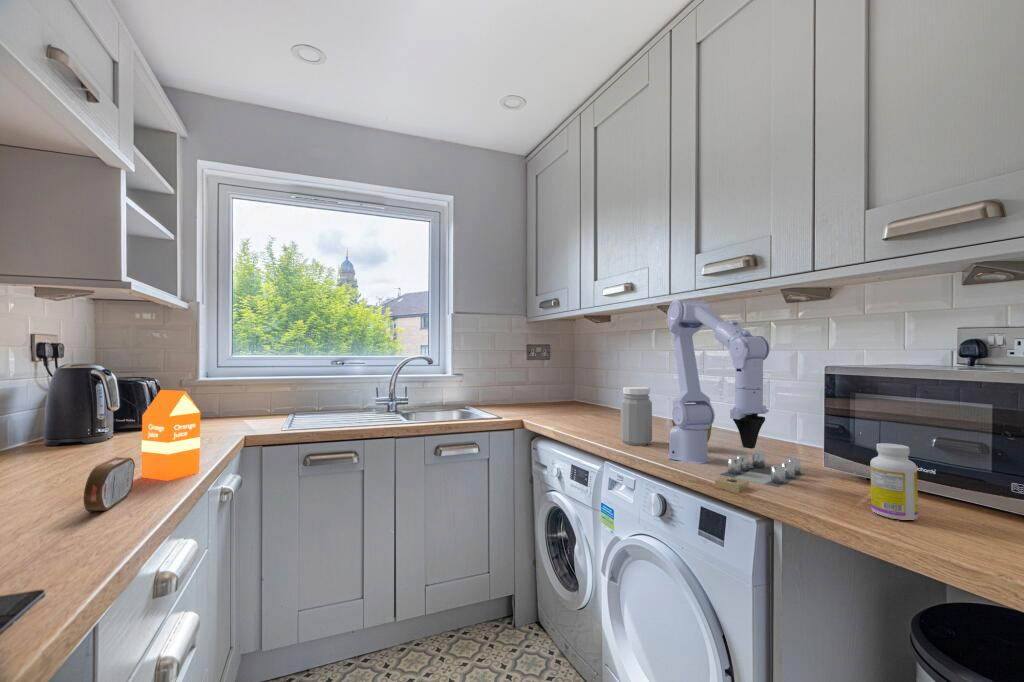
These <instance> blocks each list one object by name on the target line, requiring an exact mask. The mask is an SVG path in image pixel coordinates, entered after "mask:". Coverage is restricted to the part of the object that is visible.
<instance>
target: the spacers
mask: <svg viewBox="0 0 1024 682" xmlns="http://www.w3.org/2000/svg"><path fill="white" fill-rule="evenodd" d="M751 458H752V463H749V456H748V455H744V454H736V455H735V457H734V456H733V457H732V456H731V457H727V472H728V473H729V474H733V475H740V474H741V471H742V472H747V471H748V469H754V467H755V468H765V466H766V453H764V452H761V451H760V452H759V451H758V452H757V451H752V457H751ZM751 464H753V465H751ZM770 467H771V482H772V483H776V484H784V485H785V479H794V480H796V479H795V475H800V474H801V473H802V471H801V459H800V458H797V457H786V460H785V461H783V460H782V461H780V465H779V464H778V465H776V464H775V465H774V464H772V465H771V466H770Z"/></svg>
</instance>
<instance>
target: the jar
mask: <svg viewBox="0 0 1024 682" xmlns="http://www.w3.org/2000/svg"><path fill="white" fill-rule="evenodd" d="M650 389H651V388H650V387H647V386H624V387H622V393H623V394H624V395H622V398H623V399H622V400H621V401H620V440H621V441H622V443H624V444H625V445H628V444H630V445H629V446H636V445H644V446H648V445H650V444H651V442H652V441H653V406H652V405H653V402H652V401H651V399H650V397H651V396H650V394H651V392H650ZM647 444H648V445H647Z"/></svg>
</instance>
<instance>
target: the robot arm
mask: <svg viewBox="0 0 1024 682" xmlns="http://www.w3.org/2000/svg"><path fill="white" fill-rule="evenodd" d="M666 313H667V320H668V321H667V322H668V326H669V327H668V328H669V332H671V337H672V343H673V350H674V357H675V364H676V371H677V377H678V378H677V379H678V384H679V391H680V393H678V394H677V396H676V397H675V398H674V399H673V400H672V411H671V412H672V414H671V416H672V420H674V422H675V424H676V425H677V426H674V427H673V426H672V427H671V429H670V432H669V443H668V444H669V445H668V446H669V447H668V448H669V452H668V454H669V455H668V456H667V459H670V460H675V461H679V462H681V461H683V462H687V463H691V464H697V465H703V464H705V463H708V462H712V461H715V458H712V457H709V456H708V453H709V452H708V443H707V429H709V428H710V425H712V426H713V424H714V421H715V418H716V414H715V410H714V408H713V406H712V404H711V399H710V397H709V396H708V395H706V394H705V393H704V392H702V391H701V384H700V379H699V373H698V372H699V371H698V365H697V359H696V352H695V346H694V341H693V336H694V335H695V334H696V333H698V332H699V331H700V330H701V329H702V328H703V326H706V327H707V328H709V329H710V330H711V331H713V332H714V338H715V339H716V340H717V341H718V342H720V343H721V344H722V345H723V346H725V347H726V348H727V349H728V350H729V351H728V352H729V356H730V358H731V360H732V366H733V369H734V371H735V375H734V380H735V381H734V385H735V386H734V387H735V388H734V393H735V394H734V407H733V408H732V409H729V412H730V413H729V418H730V420H731V419H732V420H733V422H734V424H735V426H736V428H737V430H738V432H739V436H740V441H741V444H742V448H744V449H745V448H747V449H750V450H751V449H755V447H756V445H757V442H758V436H759V434H760V430H761V429H762V426H763V425H764V423H765V422H766V417H765V416H760V415H765V414H767V413H769V409H768V408H767V405H766V404H765V405H764V360H766V359H767V358H768V356H769V354H770V345H769V342H768V340H767V339H766V338H765V337H764V336H763V335H753V334H751V331H749V330H748V329H744V328H743V327H741V326H740V325H739V324H738V323H739V321H737V320H735V319H734V320H733V319H732V320H731V319H730V320H729V319H728V320H724V318H722V317H721V316H720V315H719V314H717V312H715V311H714V310H713V308H712V305H711V304H710V303H709V302H707V301H705V300H700V301H699V300H680V299H679V300H678V299H674V300H673V301H672V302H671V303H670V305H669V307H668V309H667V312H666Z"/></svg>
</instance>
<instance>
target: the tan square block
mask: <svg viewBox="0 0 1024 682" xmlns="http://www.w3.org/2000/svg"><path fill="white" fill-rule="evenodd" d="M714 486H715V488H714V489H716V490H719V491H721V492H727V493H729V491H730V493H732V494H736V495H738V493H741V492H743V491H745V490H747V489H749V488H750V481H746V480H742V479H737V478H732V477H728V476H723V477H720V478H717V479H715V480H714Z"/></svg>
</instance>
